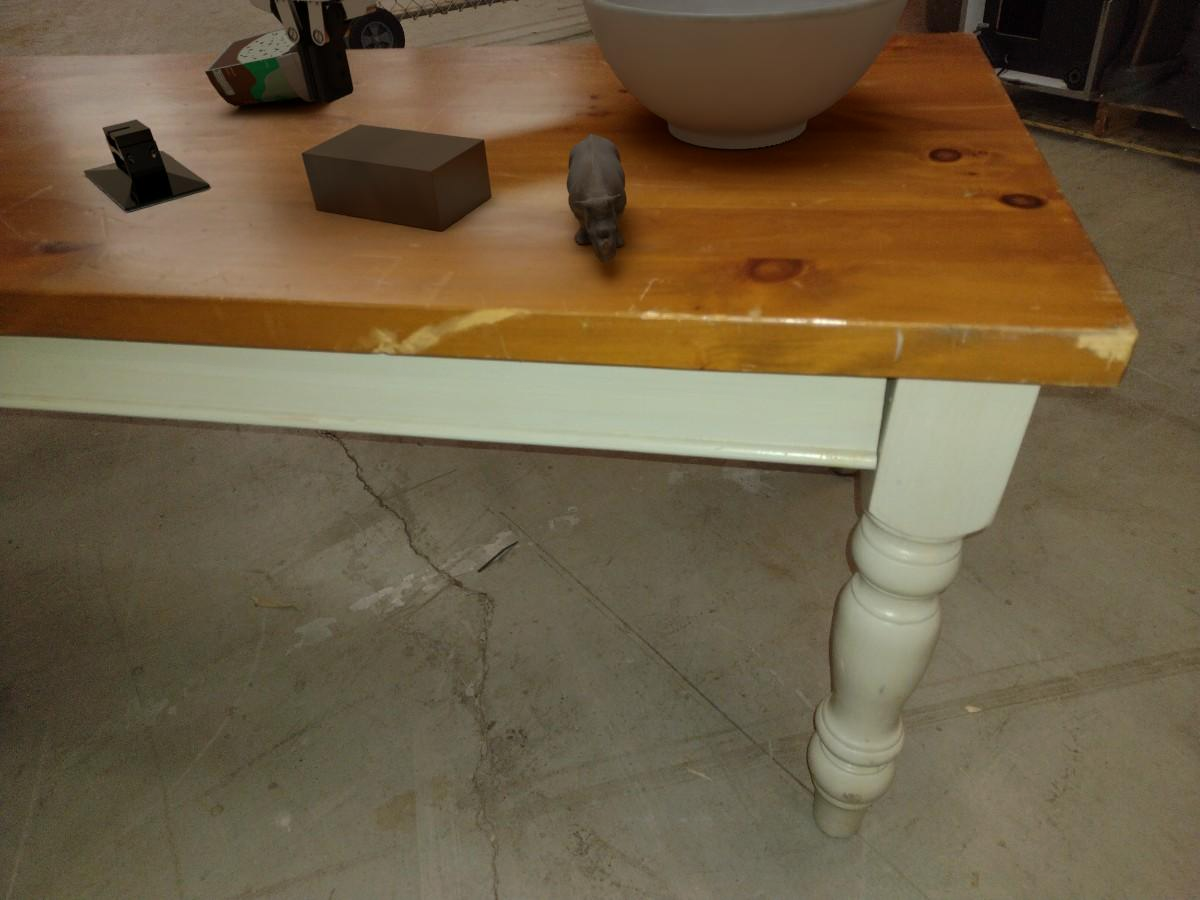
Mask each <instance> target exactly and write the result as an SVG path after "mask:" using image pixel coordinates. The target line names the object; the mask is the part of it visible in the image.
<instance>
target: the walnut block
mask: <svg viewBox="0 0 1200 900" xmlns="http://www.w3.org/2000/svg"><path fill="white" fill-rule="evenodd" d="M485 142H486V141H485V139H483V138H474V137H466V136H459V135H449V134H444V133H443V134H442V133H433V132H426V131H417V130H411V129H401V128H393V127H384V126H377V125H367V124H358V125H355V126H354V127H352V128H349V129H347V130H346V131H343V132H341V133H339V134H337V135H335V136H333V137H331V138H329V139H327V140H325V141H322V142H321V143H318V144H316V145H315V146H313V147H310V148H308V149H307V150H304V151H302V152H301V153H300V154H301V158H302V162H303V166H304V169H305V173H306V177H307V180H308V184H309V187H310V192H311V195H312V199H313V203H314V206H315V210H317V211H322V212H328V213H335V214H339V215H346V216H351V217H356V218H361V219H362V218H363V219H369V220H373V221H374V220H375V221H378V222H379V221H380V222H386V223H392V224H397V225H403V226H408V227H414V228H420V229H426V230H431V231H438V232H443V231H444V230H446V229H447V228H449V227H450V226H452V225H454V223H456V222H457V221H459V220H460V219H461V218H463V217H464V216H466V215H467V214H469V213H470V212H471V211H473V210H475V209H476V208H477V207H479V206H480V205H481V204H483V203H484V202H486V201H487V200H489V199H490V198H491V197H492V196H493V195H492V188H491V182H490V173H489V167H488V165H489V164H488V158H487V152H486V151H487V150H486V143H485Z"/></svg>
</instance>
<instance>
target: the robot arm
mask: <svg viewBox="0 0 1200 900" xmlns="http://www.w3.org/2000/svg"><path fill="white" fill-rule="evenodd" d="M249 2H250V4H251V5H252V6H253V7H254V8H256V9H259V10H261V11H264V12H266V13H268V14H273V16H274V17H275V18H276V19H277V21H278V22H279V23H281V26H282V27H283V28H284V29H285V32H286V35H287V37H288V39H289V40H290V41H291V42H292V43H297V49H298V53H299V57H300V61H301V65H302V70H303V74H304V78H305V82H306V86H307V91H308V95H309V98H310V100H311V101H313V102H317V103H318V102H322V103H324V104H332V103H334V102H335V101H339V100H340V99H343V98H345V97H347V96H349V95H352V93H353V92H354V83H353V78H352V73H351V70H350V65H349V59H348V55H347V50H346V45H345V40H344V38H347V37H348V36H349V35H350V33H351V31H350V30H351V29H350V27H351V24H352V23H353V21H354V20H355V18H358V17H362V16H365V15H368V14H371V13H375V12H377V11H376V10H377V9H378V3H377V0H249Z"/></svg>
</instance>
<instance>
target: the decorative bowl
mask: <svg viewBox="0 0 1200 900" xmlns="http://www.w3.org/2000/svg"><path fill="white" fill-rule="evenodd" d="M581 1H582V5H583V9H584V13H585V15H586V19H587V21H588V24H589V26H590V29H591V32H592V35H593V37H594V39H595V42H596V44H597V46H598V48H599V50H600V52H601V54H602V56H603V57H604V59H605V61H606V62H607V64H608V66H609V67H610V69H611V70H612V72H613V74H614V75H615V76H616V79H618V81H619V83H621V84H622V85H623V87H624V88H625V90H627V91H628V92H629V94H630V95H631V96H632V97H633V98H634V99H636V101H637V102H639V103H640V104H641V105H642V106H643V107H644V108H646V109H647V110H649V111H650V112H652V113H653V114H654V115H656V116H658V117H659V118H661V119H662V120H665V121H666V122H667V128H668V132H669V133H670V134H671V135H672V136H673V137H675V138H676V139H678V140H680V141H681V142H684V143H687V144H690V145H693V146H698V147H703V148H710V149H719V150H750V148H751V150H752V149H759V147H761V148H767V147H766V146H768V147H772V146H771V145H773V146H777V145H781V144H783V143H782V142H784V143H786V142H785V141H787V142H789V141H788V140H790V141H792V140H794V139H796V138H797V136H798V135H799V136H801V135H802V134H803V133H804V132H805V130H806V127H807V124H808V120H810V119H812V118H814V117H816V116H818V115H819V114H821V113H823V112H824V111H826V110H827V109H829V108H830V107H832V106H834V104H836V103H837V102H838V101H839V100H841V99H842V98H843V97H844V96H845V95H846V94H848V93H849V92H850V91H851V90H852V89H853V88H854V87H855V86H856V85H857V84H858V82H859V81H860V80H861V79H862V78H863V77H864V76H865V75H866V73H868V71H869V70H870V68H871V67H872V66H873V64H875V62H876V60H877V59H878V58H879V56H880V54H881V53H882V51H883V50H884V48H885V47H886V45H887V44H888V42H889V40H890V38H891V37H892V35H893V33H894V31H895V30H896V27H897V25H898V23H899V21H900V19H901V17H902V15H903V13H904V11H905V8H906V6H907V4H908V1H909V0H581ZM803 131H804V132H803ZM802 132H803V133H802ZM801 133H802V134H801ZM800 134H801V135H800ZM799 136H798V137H799ZM795 137H796V138H795ZM793 138H794V139H793ZM791 139H792V140H791ZM780 143H781V144H780ZM776 144H777V145H776Z"/></svg>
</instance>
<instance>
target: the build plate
mask: <svg viewBox="0 0 1200 900" xmlns="http://www.w3.org/2000/svg"><path fill="white" fill-rule="evenodd" d="M101 128H102V129H101V130H102V132H103V134H104V137H105V141H106V143H107V146H108V148H109V151H110V154H111V155H112V158H113V161H114V162H112V163H108V164H103V165H100V166H96V167H93V168H89V169H85V170H83V173H84V176H86V178H87V179H89V180H90V181H91V182H92V183H93V184H94V185H95V186H96V187H98V189H100V190H101V192H103V193H104V194H105V195H106V196H107V197H108V198H110V200H112V201H113V202H114V203H115V204H116V205H117V206H118V207H120V209H121V210H122V211H124V212H125V213H130V212H133V211H136V210H140V209H143V208H146V207H150V206H154V205H157V204H161V203H165V202H168V201H171V200H175V199H179V198H182V197H187V196H190V195H193V194H195V193H200V192H202V191H206V190H209V189H211V185H210V183H209V182H208V181H206V180H205V179H203V178H202V177H200V176H199V175H198V174H196V173H195V172H193V170H190V169H189V168H188V167H187V166H185V165H183V164H182V163H181V162H180V161H178V160H176V158H174V157H173V156H172V155H171V154H169V153H167V152H165V151H164V150H160V148H159V147H158V144H157V141H156V140H155V138H154V135H153V131H152V130H151V128H150V127H148V126H147V125H146V124H145V123H143V122H141V121H139V120H138V119H132V120H129V121H124V122H120V123H116V124H111V125H107V126H103V127H101Z"/></svg>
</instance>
